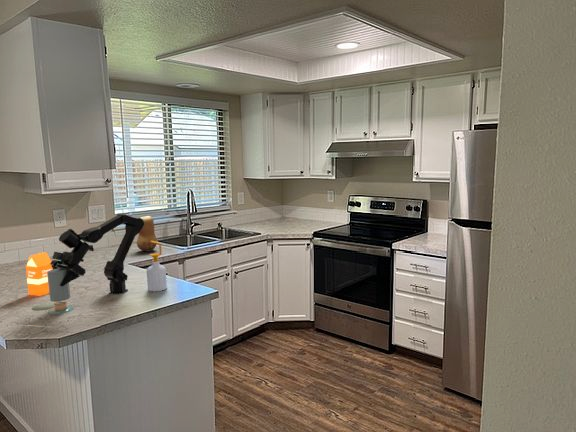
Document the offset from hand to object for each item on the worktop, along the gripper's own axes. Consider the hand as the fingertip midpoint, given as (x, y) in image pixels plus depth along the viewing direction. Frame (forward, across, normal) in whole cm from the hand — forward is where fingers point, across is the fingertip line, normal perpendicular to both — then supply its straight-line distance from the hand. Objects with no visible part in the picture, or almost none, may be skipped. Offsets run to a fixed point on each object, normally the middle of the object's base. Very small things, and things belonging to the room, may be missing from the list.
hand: (55, 284), depth 185 cm
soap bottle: (-22, +13, +39) cm, 47 cm away
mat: (+8, -11, +8) cm, 16 cm away
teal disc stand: (+8, 0, +9) cm, 12 cm away
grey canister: (+4, 0, +6) cm, 7 cm away
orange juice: (+1, -33, +16) cm, 37 cm away
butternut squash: (-62, -65, +80) cm, 120 cm away
